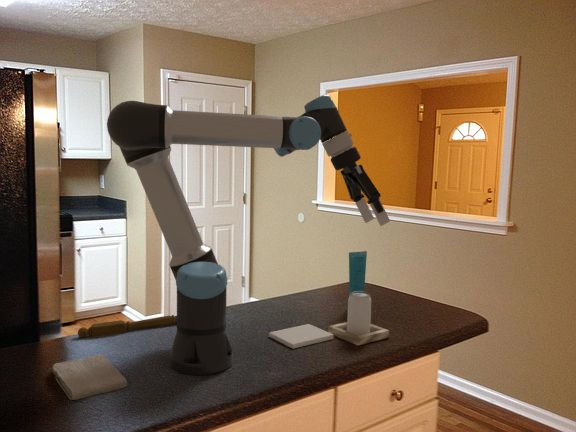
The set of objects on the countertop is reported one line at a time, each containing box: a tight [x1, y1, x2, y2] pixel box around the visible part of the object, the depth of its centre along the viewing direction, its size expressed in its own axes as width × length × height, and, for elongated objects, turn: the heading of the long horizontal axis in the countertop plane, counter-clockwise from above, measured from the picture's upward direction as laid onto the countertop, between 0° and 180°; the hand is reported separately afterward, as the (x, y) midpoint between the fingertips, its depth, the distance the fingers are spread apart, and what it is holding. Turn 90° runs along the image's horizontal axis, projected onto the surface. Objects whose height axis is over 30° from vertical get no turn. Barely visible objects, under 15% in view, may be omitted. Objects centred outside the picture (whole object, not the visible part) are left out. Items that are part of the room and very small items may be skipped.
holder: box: [327, 321, 390, 347], centre depth 147 cm, size 12×12×2 cm
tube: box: [348, 250, 368, 296], centre depth 172 cm, size 7×5×19 cm, turn 127°
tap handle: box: [77, 314, 177, 339], centre depth 147 cm, size 3×3×30 cm
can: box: [346, 291, 372, 336], centre depth 146 cm, size 6×6×12 cm
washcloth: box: [52, 354, 129, 401], centre depth 114 cm, size 12×18×3 cm, turn 38°
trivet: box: [268, 323, 335, 349], centre depth 144 cm, size 14×11×1 cm
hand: (377, 222), depth 140 cm, fingers open, 13 cm apart
